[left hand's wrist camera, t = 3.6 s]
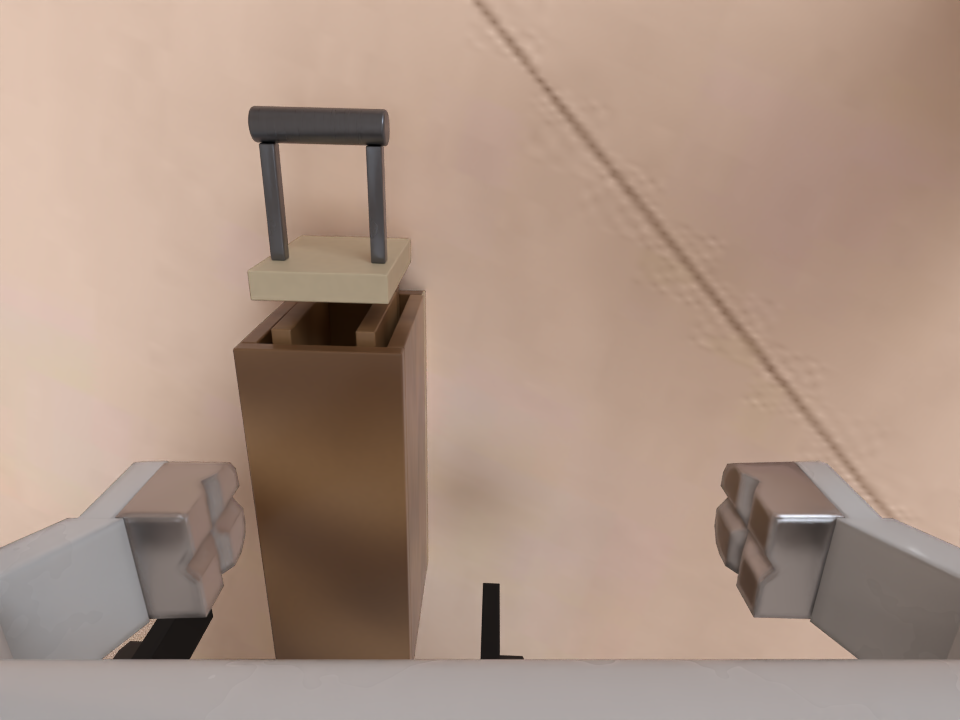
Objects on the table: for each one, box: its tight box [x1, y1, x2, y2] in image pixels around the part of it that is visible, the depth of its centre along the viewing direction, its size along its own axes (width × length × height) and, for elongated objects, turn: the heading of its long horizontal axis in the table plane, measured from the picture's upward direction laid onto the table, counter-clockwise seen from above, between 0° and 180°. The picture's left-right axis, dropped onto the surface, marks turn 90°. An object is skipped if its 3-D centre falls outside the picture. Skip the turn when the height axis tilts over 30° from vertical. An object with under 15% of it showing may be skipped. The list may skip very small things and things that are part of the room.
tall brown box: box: [233, 290, 428, 659], centre depth 31 cm, size 18×7×9 cm, turn 179°
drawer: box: [248, 106, 411, 347], centre depth 29 cm, size 22×5×7 cm, turn 179°
